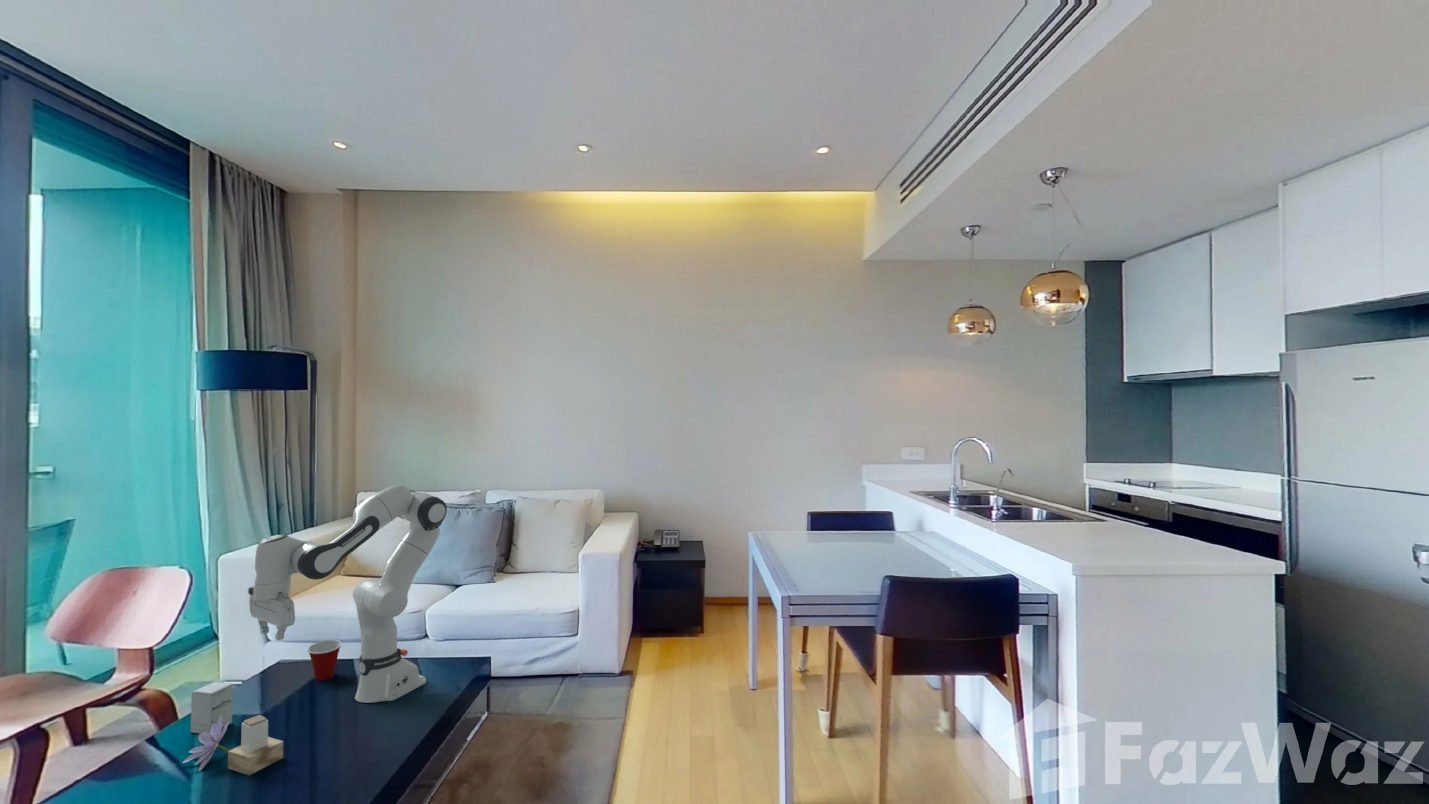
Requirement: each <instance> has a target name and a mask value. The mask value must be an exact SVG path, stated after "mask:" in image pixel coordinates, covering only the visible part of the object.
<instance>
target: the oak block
mask: <svg viewBox="0 0 1429 804" xmlns="http://www.w3.org/2000/svg"><path fill="white" fill-rule="evenodd" d="M283 758H284V740H280V739H277V738H274V737H270V736H268V746H265V747H263V748H260V749H258V750H255V751H253V752H250V753H248V752H246V751H244V750H243V749H241V744H240V745H238V746H236V747H234V748H232V749H229V751H228V753H227V769H228V770H231V771H235V772H237V773H241V774H244V775H247V776H251V775H252V774H255V773H256V772H258V771H260V770H263V769H264V768H266V767H268V766H270V765H273V764H274V763H276V762H278V761H280V760H281V759H283Z"/></svg>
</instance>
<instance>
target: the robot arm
mask: <svg viewBox="0 0 1429 804" xmlns="http://www.w3.org/2000/svg"><path fill="white" fill-rule="evenodd" d="M447 509H448V508H447V504H446V502H445V501H444V500H442V498H441V497H440V498H439V497H438V496H435V495H431V494H429V493H427V492H421V491H420V492H419V491H415V490H409V488H408V487H406V486H405V485H402V484H394V485H391V486H388V487H387V488H386V487H385V488H384V489H382V490H380V491H378V492H375V493H374V494H372V495H371V496H369V497H368V498H366V499H365V500H363V501H362V502H360V503H359V504H358V505H357V506H356V507H354V509H353V512H352V521H353V525H352V526H351V527H350V528H349V529H347V530H346V531H345V532H343V533H342V534H340V535H339V536H338V537H336V538H335V539H333V540H332V541H330V542H328V543H322V544H319V543H316V542H312V541H306V540H300V539H297V538H294V537H291V536H289V535H288V534H284V533H283V534H274V535H269V536H267V537H265V538H263V539H262V540H260V541H259V542H258V544H257V547H256V550H255V560H254V569H255V573H256V574H255V575H256V576H255V578H254V585H252V586H249V587H248V588H247V594H248V595H249V599H248V602H249V612H250V616H251V618H255V619H257V623H258V625H259V629H260V631H259V633H260V634H261V635H265V634H266V635H267V634H269V632H270V627H269V625H268V624H270V625H273V626H276V630H277V631H276V633H275V634H274V636H275V638H274V639H275V640H277V641H282V640H284V639H285V633H286V630H287V628H288V627H290V626H294V624H295V621H296V615H295V614H296V612H295V604H294V601H293V599H292V598H291V597H290V595H291V589H292V587H291V585H292V584H291V583H292V581H291V580H292V578H291V577H292V575H293V574H299V575H303V576H304V577H306V578H308V579H310V580H321V579H324V578H327V577H328V576H330V575H332V574H333V572H335V570H337V568H338V567H339V565H340V564H341V562H342V561H343V560H345V558H347V556H349V555H350V554H351V553H353V552H354V551H355V550H356V549H358V548H359V547H360V546H361V545H363V544H364V543H366V542H367V541H368V540H369V539H371V538H372V537H373V536H374V535H375V534H376V533H377V532H378V531H379V530H381V529H382V528H384V527H385V526H387V525H388V524H390V523H391V522H393V521H395V519H397V518H400V519H403V520H406V521H408V522H410V523H409V527H408V530H407V531H406V533H405V534H404V535H403V536H402V538H401V539H400V540H399V542H398V544H397V545H396V546H395V547H394V548H393V550H392V552H391V553H390V555H389V556H388V557H387V559H386V566H385V569H384V571H383V575H382V577H381V578H367V579H366V578H365V579H363V580H361V581H360V582H358V583H357V584H356V586H354V589H353V591H352V598H353V602H354V604H355V608H356V612H357V613H356V614H357V619H358V623H359V624H358V625H359V629H360V655H359V658H358V659H359V661H358V662H359V663H358V664H359V666H358V667H359V668H358V669H359V671H358V672H359V680H358V685H357V686H358V687H357V691H356V693H355V696H354V699H355V701H357V702H359V703H365V704H366V703H367V704H368V703H372V704H373V703H378V702H386V701H387V702H390V701H391V702H392V701H395V700H397V699H399V698H401V697H403V696H404V695H407V694H409V693H411V692H412V691H414V690H415V689H418V688H420V687H422V686H423V685H425V684H427V679H426V677H425V676H423V675H422V674H420V670H419V669H418V668H419V667H418V666H417V665H416V664H415V663H413V662H411V661H410V660H407V659H405V658H403V657H406V656H407V655H408V653H409V651H408V650H407V649H404V648H402V649H401V648H398V628H397V624H396V622H395V620H394V618H395V617H398V616H399V615H401V614H403V612H404V611H405V609H406V608H407V606H408V602H409V601H408V600H409V599H408V598H409V597H408V594H409V590H410V588H411V586H412V584H413V580H414V578H415V577H416V574H417V572H418V571H419V570H420V568H421V566H422V565H423V563H424V562H425V561H426V559H427V558H428V556H429V554H430V553H431V551H432V550H433V548H434V546H435V544H436V543H437V541H438V538H439V536H440V532H441V530H440V526H441V525H442V523H443V521H444V520H445V518H446V516H447V512H448V510H447Z"/></svg>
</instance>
